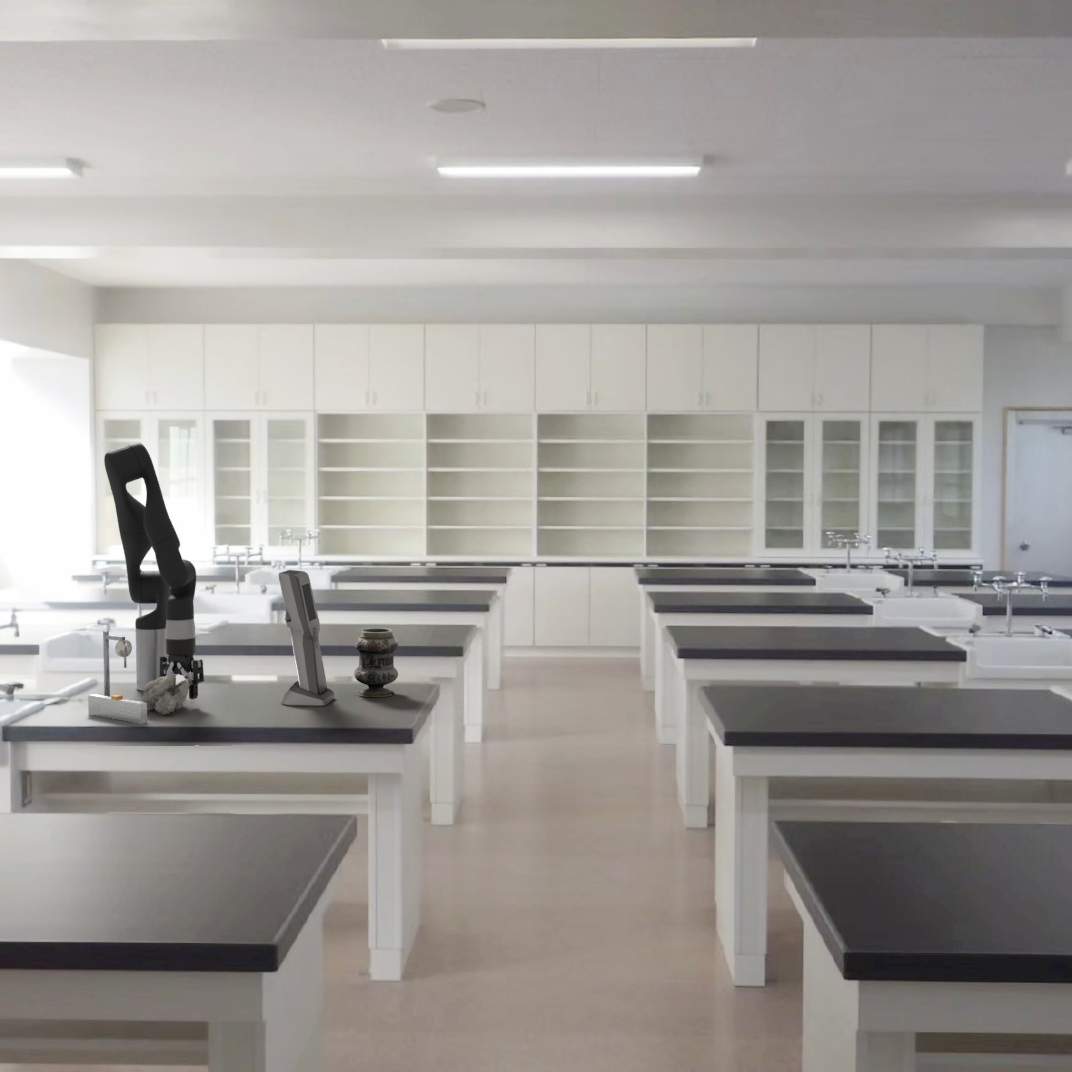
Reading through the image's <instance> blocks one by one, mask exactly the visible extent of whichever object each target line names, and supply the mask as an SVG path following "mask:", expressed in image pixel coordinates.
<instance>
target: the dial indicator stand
mask: <svg viewBox="0 0 1072 1072" xmlns="http://www.w3.org/2000/svg"><path fill="white" fill-rule="evenodd" d="M109 632H110V631H109V630H102V638H103V639H102V640H103V641H102V643H103V644H102V645H103V649H102V650H103V651H102V652H103V686H104V687H103V689H104V690H103V691H104V693H103V694H104V695H103V696H109V697H111V682H110V681H111V678H110V675H111V673H110V670H111V669H110V641H111V640H112V641H117V643H115V644H116V645H115V648H114V651H115V653H116V656H118V657H122V658H123V668H125V669H127V667H128V666H127V657H128V656H130V655H131V653H132V651H133V644H132V643H131V641H130V640H127V639H126V636H124V635H123V636H122V635H114V634H109Z"/></svg>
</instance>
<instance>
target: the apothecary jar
mask: <svg viewBox="0 0 1072 1072" xmlns="http://www.w3.org/2000/svg"><path fill="white" fill-rule="evenodd" d="M398 646H399V642H398V639H396V637H394V634H393V630H392V629H391V628H385V627H369V628H367V627H366V628H362V629H361V630H360V635H359V636H358V638H356V640H355V642H354V647H355V649H356V650H357V651H358V655H359V656H358V667H357V668H355V670H354V673H353V676H354V678H355V679H356V680H357V682H359V683H361V684H363V685H365V686H368V687H367V688H365V689H363V690H361V691H359V692H358V693H357V694H358V695H357V696H359V697H362V698H370V699H371V698H372V699H373V698H374V699H375V698H378V699H379V698H387V697H388V698H389V697H392V696H393V695H395V692H394V691H393V690H390V689H389V688H388V687H387V688H386V687H384V686H385V685H389V684H392V683H394V682H395V681H396V680H397V678H398V676H399V672H398V669H397V668H395V665H394V654H395V653H394V652H395V650H396V649H398Z"/></svg>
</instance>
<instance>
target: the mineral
mask: <svg viewBox="0 0 1072 1072" xmlns="http://www.w3.org/2000/svg"><path fill="white" fill-rule="evenodd" d="M176 683H177V676H176V677H175V675H169V676H166V677H160V678H158V679H156V680H154V681H150V682H148V683H147V684H146V685H145V686H144V688H143V690H142V692H143V697H142V701H141V702H146V703H147V709H148V710H149V711H153V710H155V712H157V713H159V714H161V715H163V716H166V715H168V714H170V712H172V713H173V712H175V711H177V710H180V709H181V708H183V703H184V702H186V699H187V696H188V695H189V686H190V684H189V683H188V681H187V679H185V680H181V681H180V682H179V683H177V684H176ZM148 710H147V711H148Z"/></svg>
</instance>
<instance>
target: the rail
mask: <svg viewBox="0 0 1072 1072" xmlns="http://www.w3.org/2000/svg"><path fill="white" fill-rule="evenodd" d="M87 695H88V697H87V701H88V705H87V706H88V716H89V715H90V716H93V715H97V716H96V717H99V716H103V717H102V718H105V717H108V718H107V719H110V718H113V719H112V720H116V719H117V720H116V721H121V720H123V722H127V721H128V723H132V722H133V724H139V725H143V724H147V723H148V715H147V714H148V710H147V703H146V702H142V701H140V700H133V699H128V698H127V699H126V698H124V697H123V696H124V695H121V694H112V695H110V697H109V696H104V695H103V694H96V693H93V694H87Z"/></svg>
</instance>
